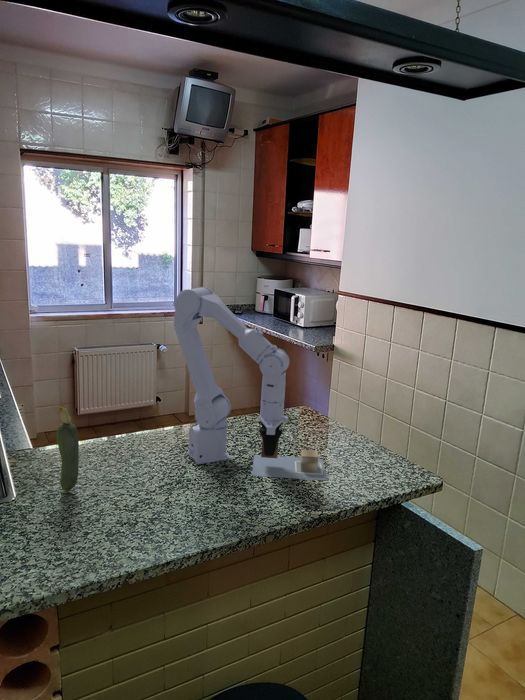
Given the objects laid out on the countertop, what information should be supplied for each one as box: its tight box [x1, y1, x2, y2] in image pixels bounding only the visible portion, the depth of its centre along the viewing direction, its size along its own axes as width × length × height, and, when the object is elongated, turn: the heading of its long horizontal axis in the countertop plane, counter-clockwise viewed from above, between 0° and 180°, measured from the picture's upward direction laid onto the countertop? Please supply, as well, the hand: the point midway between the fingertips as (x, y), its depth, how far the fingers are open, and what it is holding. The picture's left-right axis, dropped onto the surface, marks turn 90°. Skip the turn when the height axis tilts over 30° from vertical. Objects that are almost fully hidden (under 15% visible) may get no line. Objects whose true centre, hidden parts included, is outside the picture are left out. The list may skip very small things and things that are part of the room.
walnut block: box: [260, 440, 279, 458], centre depth 126 cm, size 4×4×4 cm
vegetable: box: [56, 406, 80, 494], centre depth 108 cm, size 4×4×20 cm
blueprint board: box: [251, 454, 327, 481], centre depth 127 cm, size 18×12×1 cm, turn 88°
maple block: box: [300, 449, 319, 472], centre depth 126 cm, size 4×4×4 cm
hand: (269, 451), depth 126 cm, fingers closed on walnut block, 4 cm apart
